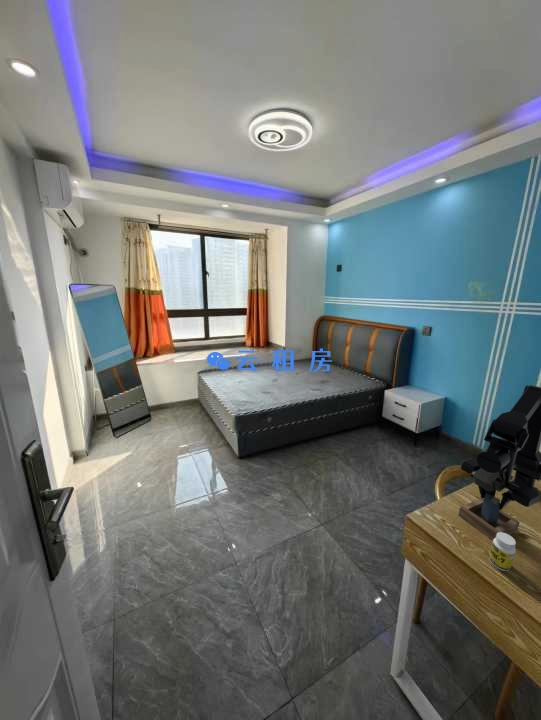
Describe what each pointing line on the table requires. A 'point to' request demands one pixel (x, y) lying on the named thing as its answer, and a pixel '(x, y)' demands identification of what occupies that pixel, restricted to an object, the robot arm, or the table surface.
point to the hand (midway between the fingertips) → (491, 503)
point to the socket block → (477, 520)
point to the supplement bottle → (502, 551)
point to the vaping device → (491, 507)
